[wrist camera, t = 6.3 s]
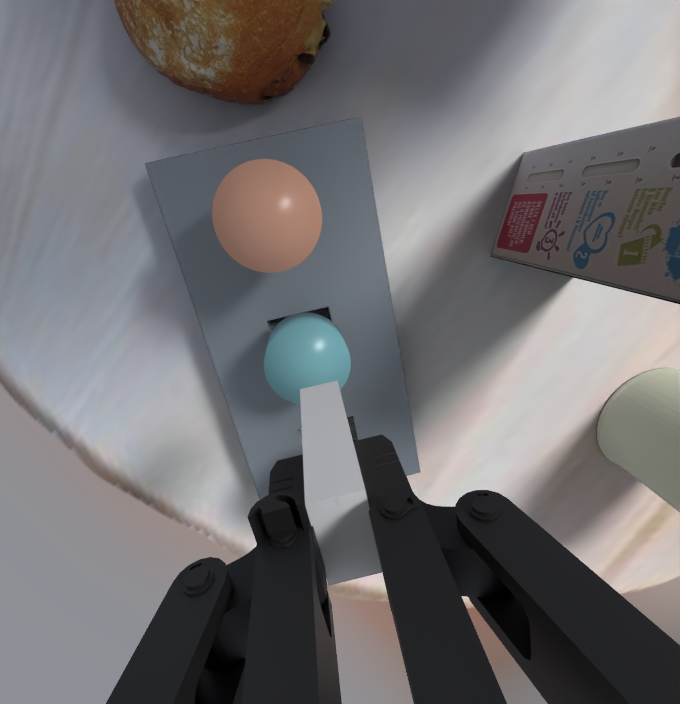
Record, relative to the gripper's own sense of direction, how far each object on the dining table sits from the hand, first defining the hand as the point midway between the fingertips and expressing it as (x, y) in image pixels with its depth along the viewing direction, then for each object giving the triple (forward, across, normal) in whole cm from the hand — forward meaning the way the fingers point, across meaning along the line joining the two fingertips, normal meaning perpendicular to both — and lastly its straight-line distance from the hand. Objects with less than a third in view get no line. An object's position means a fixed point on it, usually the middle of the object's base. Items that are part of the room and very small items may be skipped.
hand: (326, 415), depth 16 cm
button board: (+13, -1, 0) cm, 13 cm away
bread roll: (+13, 0, +18) cm, 23 cm away
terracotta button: (+10, -1, +8) cm, 12 cm away
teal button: (+11, -1, -1) cm, 11 cm away
